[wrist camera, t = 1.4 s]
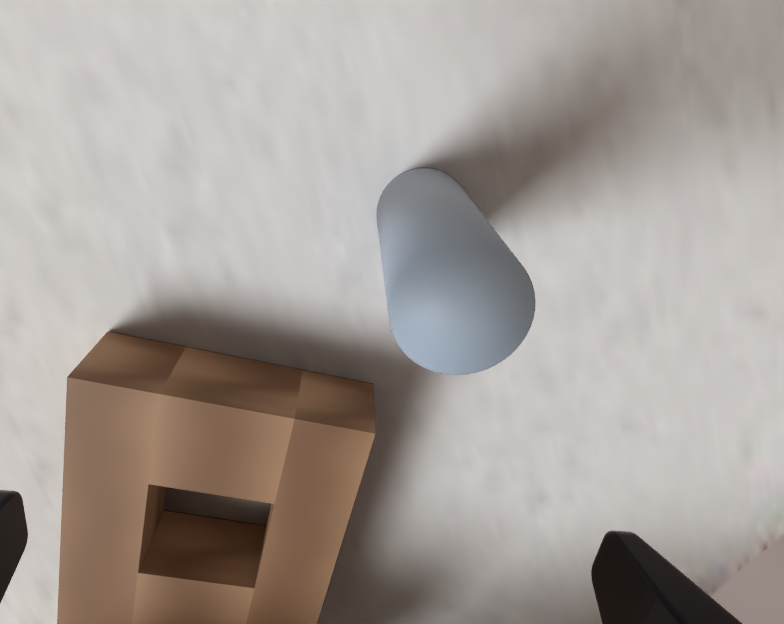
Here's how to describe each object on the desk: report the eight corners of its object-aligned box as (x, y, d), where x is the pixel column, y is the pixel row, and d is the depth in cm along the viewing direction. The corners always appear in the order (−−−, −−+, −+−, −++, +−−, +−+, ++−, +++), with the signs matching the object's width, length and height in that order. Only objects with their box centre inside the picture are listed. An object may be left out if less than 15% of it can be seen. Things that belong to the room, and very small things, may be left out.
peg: (481, 181, 19) (557, 260, 12) (452, 267, 20) (506, 386, 13) (390, 157, 19) (411, 224, 11) (366, 247, 20) (372, 359, 13)
